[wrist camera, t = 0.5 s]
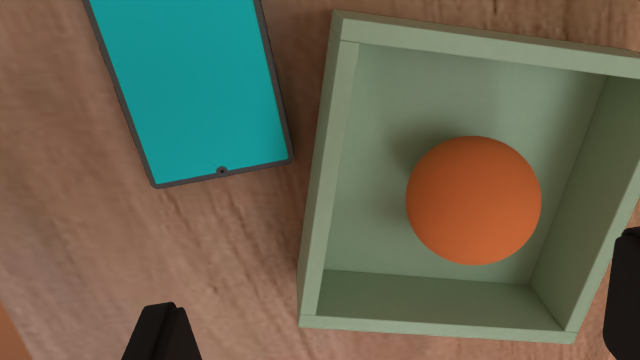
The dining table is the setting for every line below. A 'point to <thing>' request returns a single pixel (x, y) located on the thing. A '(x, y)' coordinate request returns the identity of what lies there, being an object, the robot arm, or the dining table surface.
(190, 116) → the smartphone
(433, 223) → the ball
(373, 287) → the box
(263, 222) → the dining table surface
